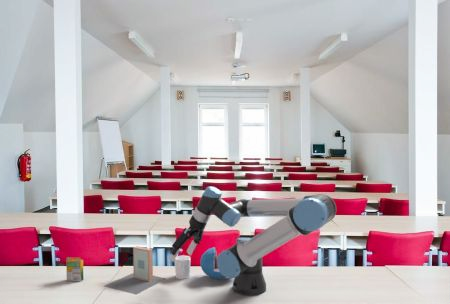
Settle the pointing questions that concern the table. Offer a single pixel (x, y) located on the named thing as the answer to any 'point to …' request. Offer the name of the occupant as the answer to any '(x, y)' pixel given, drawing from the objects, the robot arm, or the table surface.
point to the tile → (143, 263)
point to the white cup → (182, 266)
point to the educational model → (211, 264)
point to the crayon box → (74, 269)
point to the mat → (134, 284)
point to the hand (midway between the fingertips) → (180, 256)
